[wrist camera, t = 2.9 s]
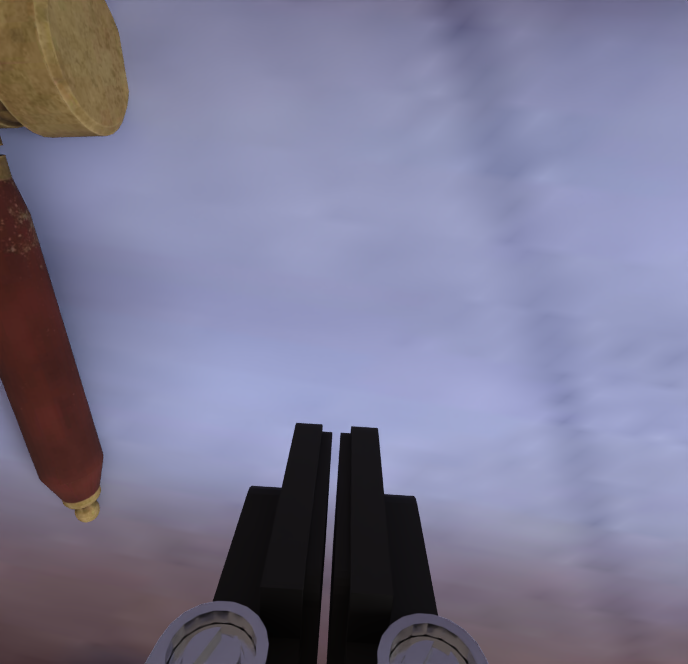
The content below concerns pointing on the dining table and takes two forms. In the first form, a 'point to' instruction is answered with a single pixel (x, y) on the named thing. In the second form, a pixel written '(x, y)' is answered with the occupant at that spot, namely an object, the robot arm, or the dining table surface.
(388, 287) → the dining table surface
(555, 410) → the dining table surface
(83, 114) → the gavel
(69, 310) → the dining table surface
